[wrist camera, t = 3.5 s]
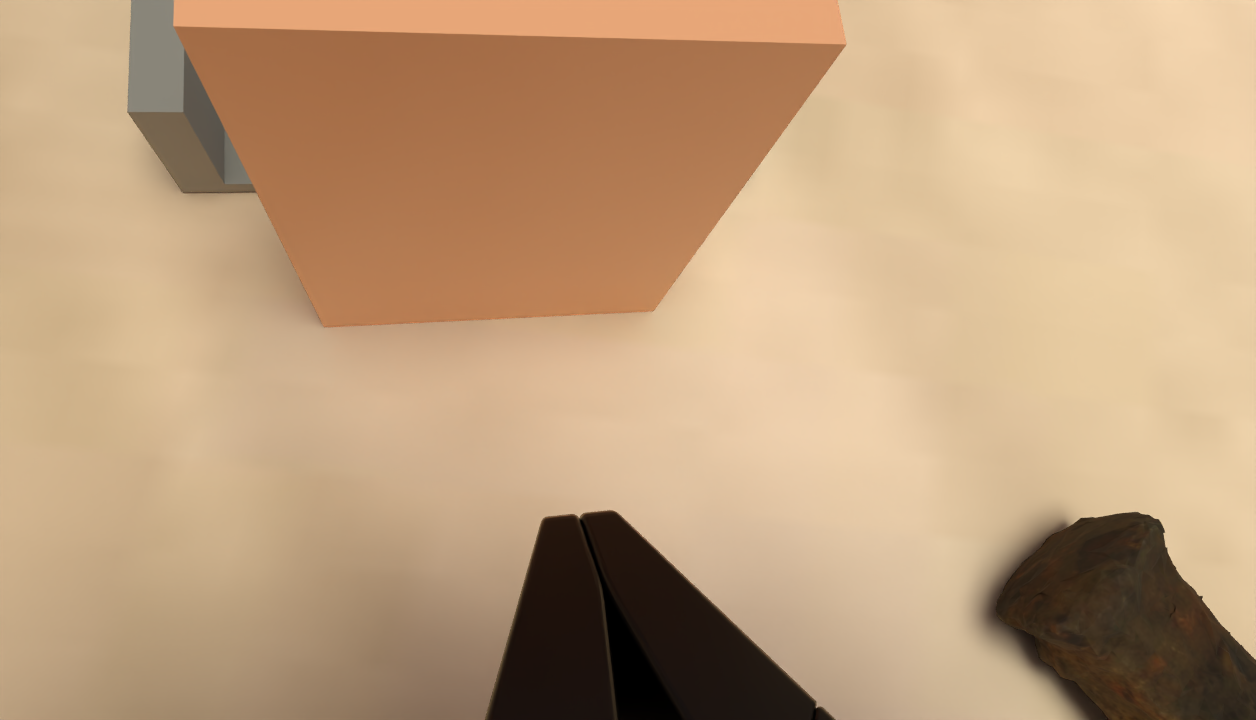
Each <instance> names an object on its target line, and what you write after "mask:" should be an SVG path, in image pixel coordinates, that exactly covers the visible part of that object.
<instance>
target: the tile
mask: <svg viewBox="0 0 1256 720" xmlns="http://www.w3.org/2000/svg"><path fill="white" fill-rule="evenodd" d="M173 27H174V29H175V31H176V33H177V35H178V37H179V39H180V41H181V43H182V45H183V47H184V49H185V51H186V53H187V55H188V57H189V59H190V61H191V63H192V65H193V66H194V68H195V70H196V72H197V74H198V76H199V78H200V80H201V82H202V84H203V86H204V88H205V90H206V92H207V94H208V96H209V98H210V100H211V102H212V104H213V106H214V108H215V110H216V112H217V114H218V116H219V118H220V120H221V122H222V124H223V126H224V128H225V130H226V132H227V134H228V136H229V138H230V140H231V142H232V144H233V146H234V148H235V150H236V152H237V154H238V156H239V158H240V160H241V162H242V164H243V166H244V168H245V170H246V172H247V174H248V176H249V178H250V180H251V182H252V184H253V186H254V188H255V190H256V192H257V194H258V196H259V198H260V200H261V202H262V204H263V206H264V208H265V210H266V212H267V214H268V216H269V218H270V220H271V222H272V224H273V226H274V228H275V230H276V232H277V234H278V236H279V238H280V240H281V242H282V244H283V246H284V248H285V250H286V252H287V254H288V256H289V258H290V260H291V262H292V264H293V266H294V268H295V270H296V272H297V274H298V276H299V278H300V280H301V282H302V284H303V286H304V288H305V290H306V292H307V294H308V296H309V298H310V300H311V302H312V304H313V306H314V308H315V310H316V312H317V314H318V316H319V318H320V320H321V322H322V324H323V326H324V327H342V326H362V325H383V324H403V323H424V322H444V321H464V320H485V319H505V318H525V317H546V316H566V315H586V314H607V313H627V312H647V311H654V310H655V308H656V307H657V305H658V304H659V303H660V301H661V300H662V298H663V297H664V296H665V294H666V293H667V292H668V290H669V289H670V287H671V286H672V285H673V283H674V282H675V281H676V279H677V278H678V276H679V275H680V274H681V272H682V271H683V269H684V268H685V267H686V265H687V264H688V263H689V261H690V260H691V258H692V257H693V256H694V254H695V253H696V252H697V250H698V249H699V247H700V246H701V245H702V243H703V242H704V240H705V239H706V238H707V236H708V235H709V234H710V232H711V231H712V229H713V228H714V227H715V225H716V224H717V223H718V221H719V220H720V218H721V217H722V216H723V214H724V213H725V211H726V210H727V209H728V207H729V206H730V205H731V203H732V202H733V200H734V199H735V198H736V196H737V195H738V194H739V192H740V191H741V189H742V188H743V187H744V185H745V184H746V182H747V181H748V180H749V178H750V177H751V176H752V174H753V173H754V171H755V170H756V169H757V167H758V166H759V165H760V163H761V162H762V160H763V159H764V158H765V156H766V155H767V153H768V152H769V151H770V149H771V148H772V147H773V145H774V144H775V142H776V141H777V140H778V138H779V137H780V136H781V134H782V133H783V131H784V130H785V129H786V127H787V126H788V124H789V123H790V122H791V120H792V119H793V118H794V116H795V115H796V113H797V112H798V111H799V109H800V108H801V107H802V105H803V104H804V102H805V101H806V100H807V98H808V97H809V95H810V94H811V93H812V91H813V90H814V89H815V87H816V86H817V84H818V83H819V82H820V80H821V79H822V78H823V76H824V75H825V73H826V72H827V71H828V69H829V68H830V66H831V65H832V64H833V62H834V61H835V60H836V58H837V57H838V55H839V54H840V53H841V51H842V50H843V49H844V47H845V46H846V40H845V35H844V30H843V25H842V20H841V15H840V10H839V6H838V1H837V0H174V19H173Z"/></svg>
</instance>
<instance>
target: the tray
mask: <svg viewBox="0 0 1256 720" xmlns="http://www.w3.org/2000/svg"><path fill="white" fill-rule="evenodd" d="M173 19H174V0H131V26H130V54H129V83H128V111H127V112H128V113H129V115H130V116H131V118H132V119H133V121H134V122H135V124H136V125H137V127H138V128H139V129H140V131H141V132H142V134H143V135H144V137H145V138H146V140H147V141H148V142H149V144H150V145H151V147H152V148H153V150H154V151H155V153H156V154H157V156H158V157H159V158H160V160H161V161H162V163H163V164H164V166H165V167H166V169H167V170H168V172H169V173H170V174H171V176H172V177H173V179H174V180H175V182H176V183H177V185H178V186H179V187H180V189H181V190H182V192H183V193H190V192H256V190H255V188H254V186H253V184H252V182H251V180H250V178H249V176H248V174H247V172H246V170H245V168H244V166H243V164H242V162H241V160H240V158H239V156H238V154H237V152H236V150H235V148H234V146H233V144H232V142H231V140H230V138H229V136H228V134H227V132H226V130H225V128H224V126H223V124H222V122H221V120H220V118H219V116H218V114H217V112H216V110H215V108H214V106H213V104H212V102H211V100H210V98H209V96H208V94H207V92H206V90H205V88H204V86H203V84H202V82H201V80H200V78H199V76H198V74H197V72H196V70H195V68H194V66H193V65H192V63H191V61H190V59H189V57H188V55H187V53H186V51H185V49H184V47H183V45H182V43H181V41H180V39H179V37H178V35H177V33H176V31H175V29H174V27H173Z"/></svg>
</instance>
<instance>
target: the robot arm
mask: <svg viewBox="0 0 1256 720" xmlns="http://www.w3.org/2000/svg"><path fill="white" fill-rule="evenodd" d="M485 720H836V719H834V718H833V717H832V716H831V715H830V714H829V713H828V712H827V711H826V710H825V709H824V708H823V707H817V708H816V701H815V700H814V699H813V698H812V697H811V696H810V695H809V694H808V693H807V692H806V691H805V690H804V689H803V688H801V687H800V686H799V685H798V684H797V683H796V682H795V681H794V680H793V679H792V678H791V677H790V676H789V675H788V674H787V673H786V672H785V671H784V670H783V669H782V668H780V667H779V666H778V665H777V664H776V663H775V662H774V661H773V660H772V659H771V658H770V657H769V656H768V655H767V654H766V653H765V652H764V651H763V650H762V649H760V648H759V647H758V646H757V645H756V644H755V643H754V642H753V641H752V640H751V639H750V638H749V637H748V636H747V635H746V634H745V633H744V632H743V631H742V630H741V629H739V628H738V627H737V626H736V625H735V624H734V623H733V622H732V621H731V620H730V619H729V618H728V617H727V616H726V615H725V614H724V613H723V612H722V611H721V610H720V609H718V608H717V607H716V606H715V605H714V604H713V603H712V602H711V601H710V600H709V599H708V598H707V597H706V596H705V595H704V594H703V593H702V592H701V591H700V590H698V589H697V588H696V587H695V586H694V585H693V584H692V583H691V582H690V581H689V580H688V579H687V578H686V577H685V576H684V575H683V574H682V573H681V572H680V571H679V570H677V569H676V568H675V567H674V566H673V565H672V564H671V563H670V562H669V561H668V560H667V559H666V558H665V557H664V556H663V555H662V554H661V553H660V552H659V551H658V550H656V549H655V548H654V547H653V546H652V545H651V544H650V543H649V542H648V541H647V540H646V539H645V538H644V537H643V536H642V535H641V534H640V533H639V532H638V531H636V530H635V529H634V528H633V527H632V526H631V525H630V524H629V523H628V522H627V521H626V520H625V519H624V518H623V517H622V516H621V515H620V514H618V513H617V512H615V511H612V510H607V511H598V512H588V513H583V514H582V515H581V516H580V518H579V517H578V516H577V515H575V514H568V515H559V516H549V517H545V518H544V519H543V520H542V522H541V524H540V528H539V531H538V535H537V538H536V542H535V545H534V549H533V552H532V556H531V559H530V563H529V566H528V570H527V573H526V577H525V580H524V584H523V587H522V591H521V594H520V598H519V601H518V605H517V608H516V612H515V615H514V619H513V622H512V626H511V629H510V633H509V636H508V640H507V643H506V647H505V650H504V654H503V657H502V661H501V664H500V668H499V671H498V675H497V678H496V682H495V685H494V689H493V692H492V696H491V699H490V703H489V706H488V710H487V713H486V717H485Z"/></svg>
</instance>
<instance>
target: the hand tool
mask: <svg viewBox="0 0 1256 720" xmlns="http://www.w3.org/2000/svg"><path fill="white" fill-rule="evenodd" d="M1163 533H1165V531H1164V528H1163V526H1162V524H1161V522H1160V521H1159V519H1154V518H1153V517H1151V516H1150V515H1144V514H1140V513H1138V512H1132V513H1120V514H1114V515H1109V516H1103V517H1098V518H1094V517H1090V518H1080V519H1079V520H1078V521H1077V522H1075V523H1074V524H1073V525H1071V526H1069V527H1068V528H1066V529H1064V530H1062V531H1060V532H1058V533H1055V534H1053V535H1052V536H1051V537H1049V538H1048V539H1047V540H1046V541H1045V543H1044V544H1043V546H1042V547H1041V548H1040V549H1039V550H1038V551H1037V552H1036V553H1034V554H1033V555H1032V556H1031V557H1029V558H1028V559H1027V560H1025V562H1023V563H1022V564H1021V566H1020V567H1019V568H1018V569H1017V571H1016V572H1015V573H1014V574H1013V576H1012V577H1011V578H1010V580H1009V581H1008V583H1007V584H1006V585H1005V588H1004V591H1003V593H1002V594H1001V596H1000V597H999V599H998V601H997V606H996V612H997V616H998V617H999V618H1000V620H1001V621H1003V622H1004V623H1006V624H1008V625H1010V626H1012V627H1013V628H1015V629H1021V630H1025V631H1026V632H1027V633H1029V634H1031V635H1034V636H1035V644H1036V648H1037V652H1038V656H1039V658H1040V659H1041V660H1042V661H1044V662H1045V663H1046V664H1047V665H1049V666H1052V667H1053V668H1054V669H1055V670H1056V671H1057V673H1058V674H1059V675H1060V676H1061V677H1062V678H1065V679H1068V680H1072V681H1075V682H1076V683H1077V684H1078V685H1079V687H1080V688H1081V689H1082V690H1083V691H1084V693H1085V694H1086V695H1087V696H1088V697H1089V698H1090V699H1091V700H1092V701H1093V702H1094V703H1095V704H1096V705H1097V706H1098V707H1099V708H1100V709H1101V710H1102V711H1103V713H1104V714H1105V715H1106V716H1107V718H1108V719H1109V720H1256V660H1255V659H1254V658H1253V657H1252V656H1251V655H1250V654H1249V653H1248V652H1247V651H1246V650H1245V649H1244V648H1243V646H1242V645H1240V644H1239V643H1238V642H1237V641H1236V640H1235V639H1234V638H1233V637H1232V636H1231V635H1230V632H1228V631H1227V630H1226V629H1225V628H1224V627H1223V626H1222V625H1221V624H1220V623H1219V622H1218V620H1217V619H1216V618H1215V616H1214V615H1213V613H1212V612H1211V611H1210V609H1209V608H1208V607H1207V606H1206V605H1205V603H1204V602H1203V601H1202V598H1203V596H1198V595H1197V593H1196V591H1195V590H1194V589H1193V588H1192V587H1191V586H1190V585H1189V584H1188V583H1186V582H1185V581H1184V580H1183V579H1182V577H1181V576H1180V575H1179V573H1178V572H1177V570H1176V567H1175V566H1174V565H1173V563H1172V561H1171V559H1170V557H1169V555H1168V552H1167V548H1166V547H1165V541H1164V535H1163Z"/></svg>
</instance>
